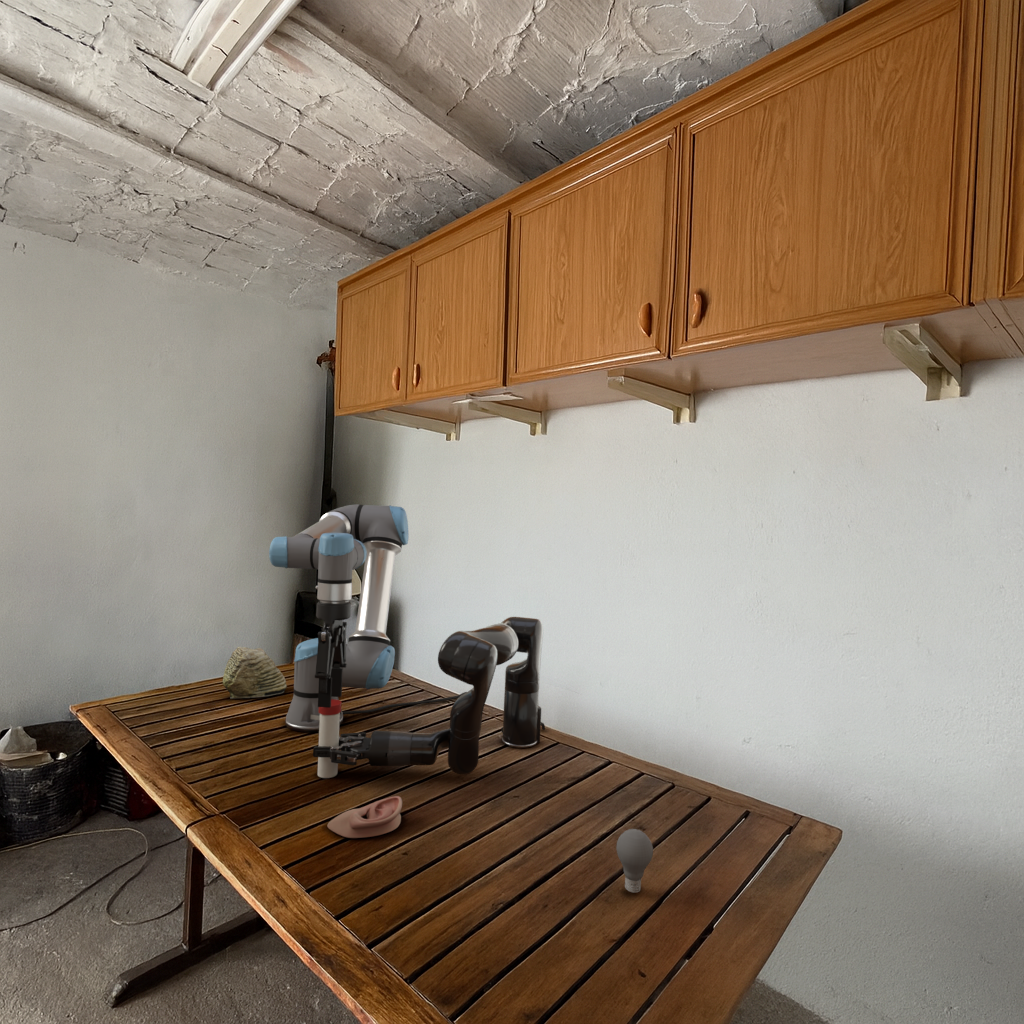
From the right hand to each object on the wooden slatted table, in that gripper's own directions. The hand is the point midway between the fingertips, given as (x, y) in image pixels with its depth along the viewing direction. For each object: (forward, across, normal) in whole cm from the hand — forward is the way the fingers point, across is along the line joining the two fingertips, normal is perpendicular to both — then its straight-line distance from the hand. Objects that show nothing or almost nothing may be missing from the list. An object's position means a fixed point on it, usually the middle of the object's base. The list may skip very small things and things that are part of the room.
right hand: (316, 747), depth 144 cm
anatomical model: (-15, +22, +6) cm, 28 cm away
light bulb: (-62, +43, +6) cm, 76 cm away
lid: (-3, 0, -10) cm, 10 cm away
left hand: (-3, 0, -11) cm, 11 cm away
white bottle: (-3, 0, +6) cm, 7 cm away
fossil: (+32, -56, +6) cm, 65 cm away
